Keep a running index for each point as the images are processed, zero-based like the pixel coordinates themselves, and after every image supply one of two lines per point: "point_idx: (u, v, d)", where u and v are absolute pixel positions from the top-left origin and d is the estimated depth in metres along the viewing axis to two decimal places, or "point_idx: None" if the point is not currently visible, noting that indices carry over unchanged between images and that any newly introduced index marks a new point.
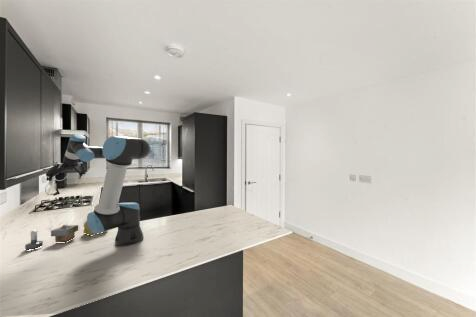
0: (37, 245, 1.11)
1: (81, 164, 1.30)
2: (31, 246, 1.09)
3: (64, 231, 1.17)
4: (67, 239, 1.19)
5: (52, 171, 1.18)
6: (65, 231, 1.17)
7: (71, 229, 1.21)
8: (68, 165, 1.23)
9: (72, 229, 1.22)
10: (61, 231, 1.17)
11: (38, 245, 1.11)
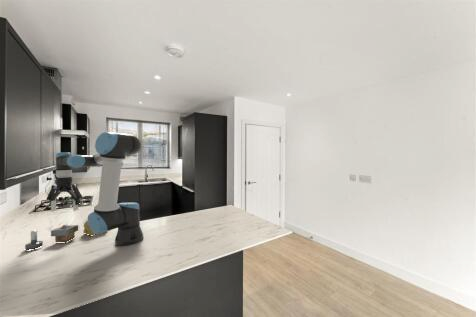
0: (37, 245, 1.11)
1: (72, 185, 1.21)
2: (31, 246, 1.09)
3: (64, 231, 1.17)
4: (67, 239, 1.19)
5: (49, 193, 1.20)
6: (65, 231, 1.17)
7: (71, 229, 1.21)
8: (60, 186, 1.21)
9: (72, 229, 1.22)
10: (61, 231, 1.17)
11: (38, 245, 1.11)
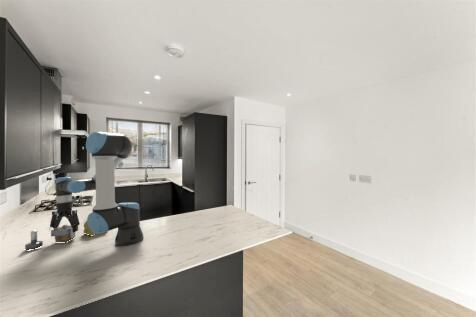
0: (37, 245, 1.11)
1: (72, 211, 1.21)
2: (31, 246, 1.09)
3: (64, 231, 1.17)
4: (67, 239, 1.19)
5: (51, 220, 1.20)
6: (65, 231, 1.17)
7: None
8: (60, 211, 1.20)
9: None
10: (61, 231, 1.17)
11: (38, 245, 1.11)
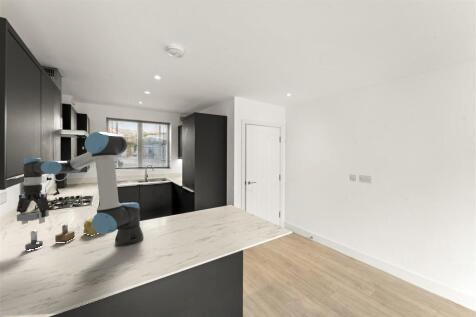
0: (37, 245, 1.11)
1: (41, 195, 1.12)
2: (31, 246, 1.09)
3: (31, 215, 1.08)
4: (67, 239, 1.19)
5: (18, 204, 1.11)
6: (32, 215, 1.08)
7: None
8: (28, 195, 1.11)
9: None
10: (28, 215, 1.08)
11: (38, 245, 1.11)
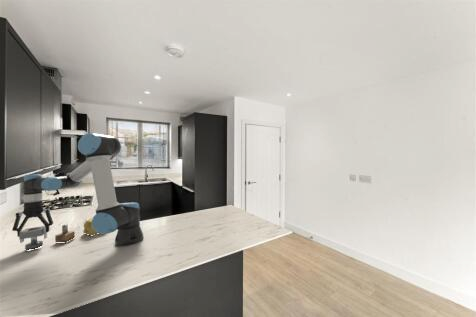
0: (37, 245, 1.11)
1: (46, 210, 1.14)
2: (31, 246, 1.09)
3: (39, 231, 1.10)
4: (67, 239, 1.19)
5: (15, 223, 1.08)
6: (40, 231, 1.11)
7: None
8: (29, 212, 1.11)
9: None
10: (35, 232, 1.09)
11: (38, 245, 1.11)
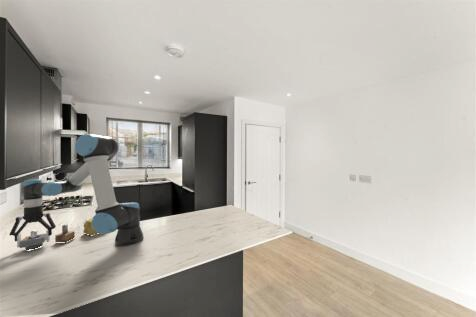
0: (37, 245, 1.11)
1: (46, 214, 1.14)
2: (31, 246, 1.09)
3: (39, 239, 1.10)
4: (67, 239, 1.19)
5: (13, 227, 1.07)
6: (41, 239, 1.11)
7: (44, 237, 1.14)
8: (29, 217, 1.11)
9: (44, 237, 1.15)
10: (35, 240, 1.09)
11: (38, 245, 1.11)
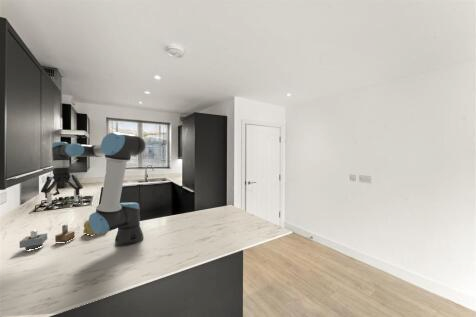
0: (37, 245, 1.11)
1: (72, 175, 1.19)
2: (31, 246, 1.09)
3: (39, 239, 1.10)
4: (67, 239, 1.19)
5: (44, 185, 1.15)
6: (41, 239, 1.11)
7: (44, 237, 1.14)
8: (58, 177, 1.17)
9: (44, 237, 1.15)
10: (35, 240, 1.09)
11: (38, 245, 1.11)
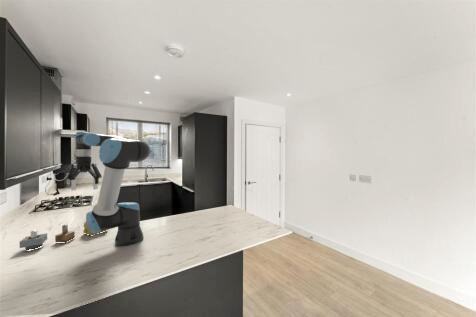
0: (37, 245, 1.11)
1: (91, 164, 1.22)
2: (31, 246, 1.09)
3: (39, 239, 1.10)
4: (67, 239, 1.19)
5: (69, 172, 1.22)
6: (41, 239, 1.11)
7: (44, 237, 1.14)
8: (80, 165, 1.22)
9: (44, 237, 1.15)
10: (35, 240, 1.09)
11: (38, 245, 1.11)
